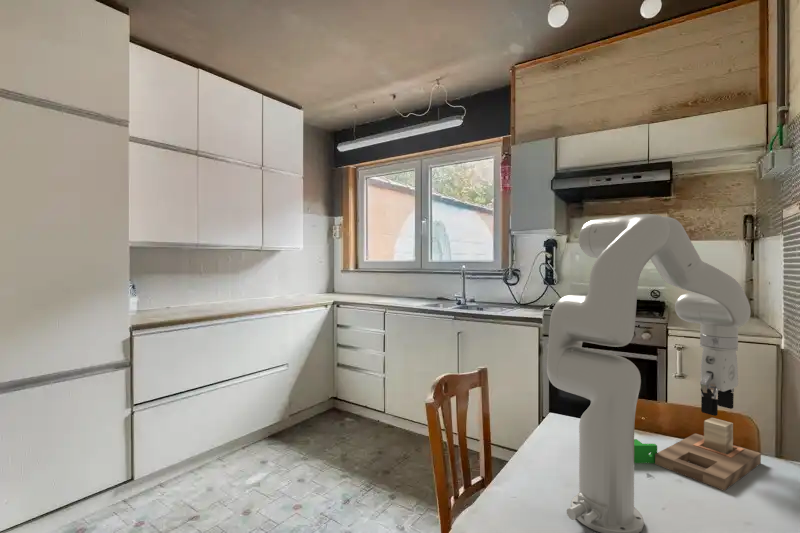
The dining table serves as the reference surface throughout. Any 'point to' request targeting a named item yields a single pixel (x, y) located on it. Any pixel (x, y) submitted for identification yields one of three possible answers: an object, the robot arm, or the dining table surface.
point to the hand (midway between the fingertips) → (717, 410)
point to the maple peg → (718, 435)
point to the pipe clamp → (644, 452)
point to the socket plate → (708, 462)
